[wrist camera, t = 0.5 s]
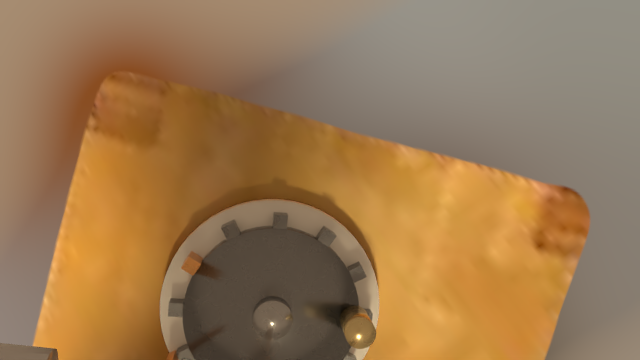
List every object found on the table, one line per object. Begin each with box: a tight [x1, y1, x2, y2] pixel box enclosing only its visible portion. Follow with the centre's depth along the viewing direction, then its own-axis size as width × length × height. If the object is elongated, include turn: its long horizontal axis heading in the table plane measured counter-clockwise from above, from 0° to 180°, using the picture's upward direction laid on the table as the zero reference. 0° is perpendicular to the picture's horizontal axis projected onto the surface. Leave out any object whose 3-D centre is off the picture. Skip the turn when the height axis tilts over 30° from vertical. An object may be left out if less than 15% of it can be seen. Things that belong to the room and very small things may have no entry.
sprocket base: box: [160, 199, 379, 360], centre depth 62 cm, size 23×23×6 cm
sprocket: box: [168, 212, 376, 360], centre depth 60 cm, size 21×21×6 cm
